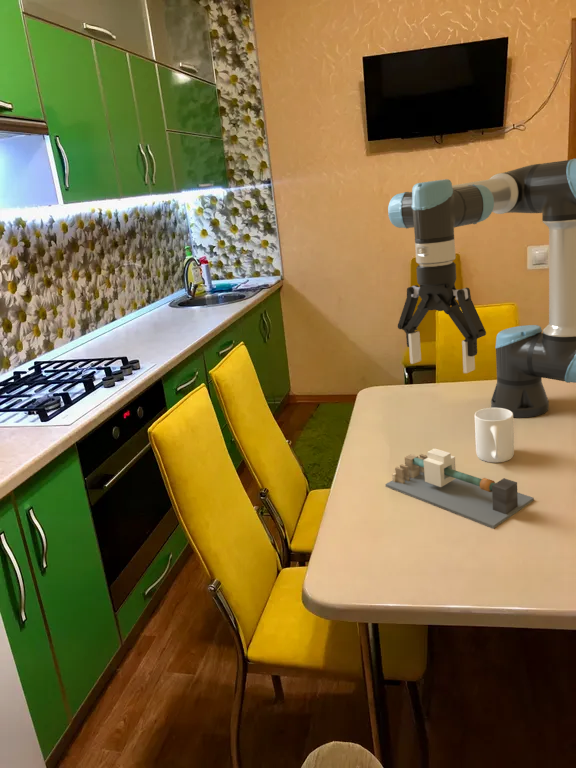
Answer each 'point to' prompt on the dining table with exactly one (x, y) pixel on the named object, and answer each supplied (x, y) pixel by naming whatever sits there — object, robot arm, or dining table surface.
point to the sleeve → (438, 467)
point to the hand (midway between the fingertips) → (441, 366)
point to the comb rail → (501, 491)
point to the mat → (459, 499)
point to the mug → (494, 434)
